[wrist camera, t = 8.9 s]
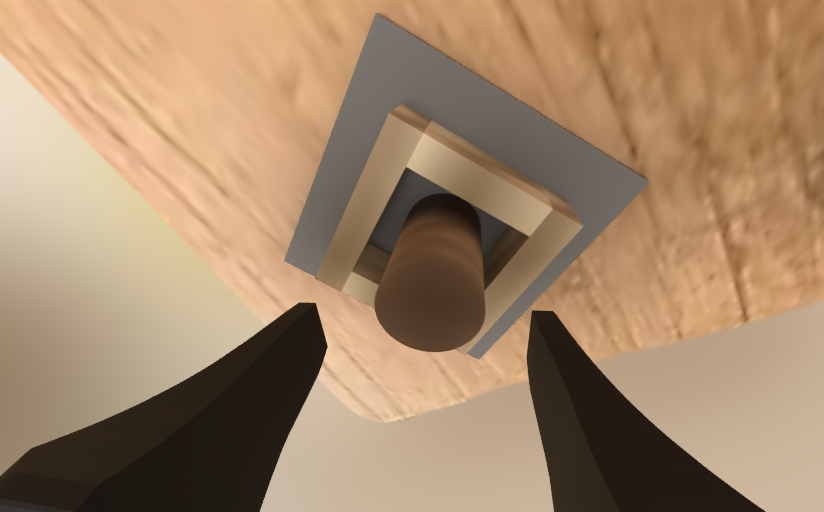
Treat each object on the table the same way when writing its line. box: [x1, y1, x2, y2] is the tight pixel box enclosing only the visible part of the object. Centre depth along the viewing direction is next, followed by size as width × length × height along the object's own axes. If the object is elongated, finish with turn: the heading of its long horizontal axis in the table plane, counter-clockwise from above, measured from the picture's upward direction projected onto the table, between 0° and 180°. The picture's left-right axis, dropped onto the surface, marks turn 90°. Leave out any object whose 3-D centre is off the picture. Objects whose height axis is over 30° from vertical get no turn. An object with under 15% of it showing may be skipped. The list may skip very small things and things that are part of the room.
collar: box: [315, 103, 583, 355], centre depth 17 cm, size 9×9×3 cm
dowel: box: [374, 193, 486, 352], centre depth 15 cm, size 4×4×7 cm
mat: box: [284, 13, 649, 359], centre depth 19 cm, size 14×14×1 cm
